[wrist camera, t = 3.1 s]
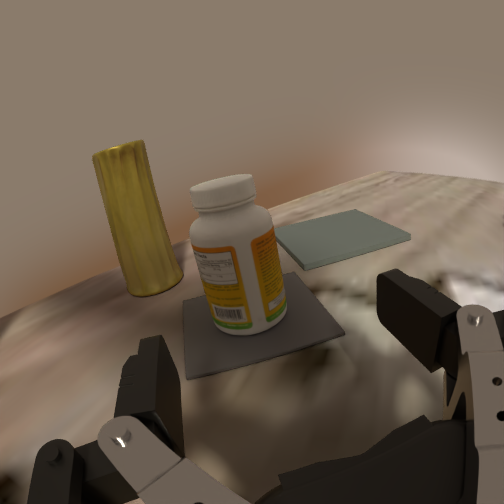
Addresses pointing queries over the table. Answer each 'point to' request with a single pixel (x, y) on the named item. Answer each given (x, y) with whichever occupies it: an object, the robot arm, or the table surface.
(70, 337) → the table surface
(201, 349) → the dark gray tile
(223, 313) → the supplement bottle
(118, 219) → the vase
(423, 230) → the table surface
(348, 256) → the slate pad
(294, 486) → the robot arm
